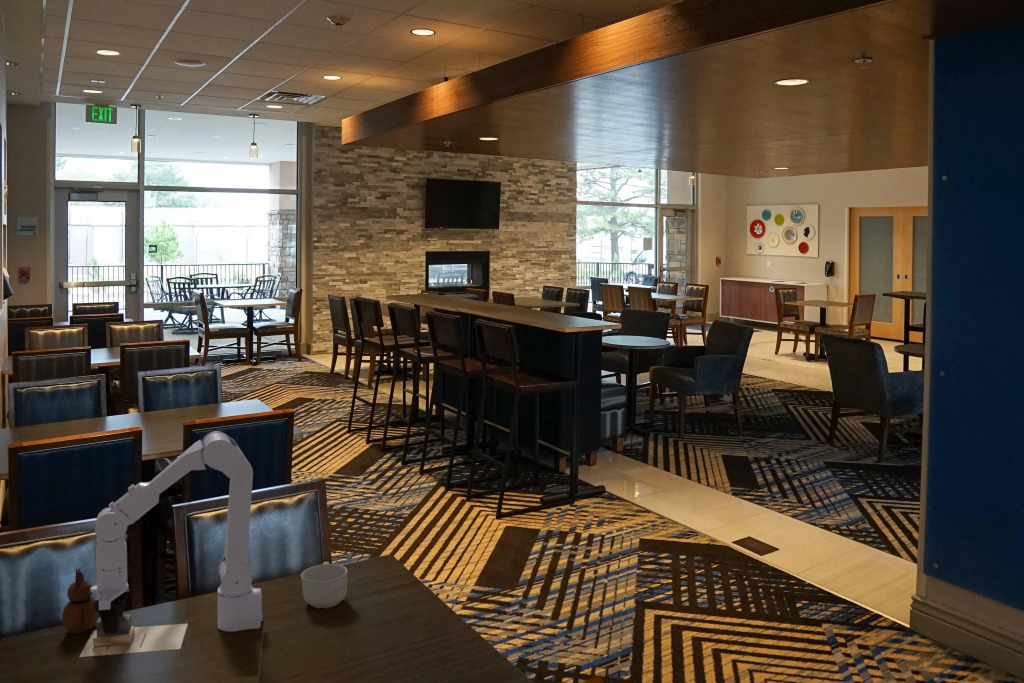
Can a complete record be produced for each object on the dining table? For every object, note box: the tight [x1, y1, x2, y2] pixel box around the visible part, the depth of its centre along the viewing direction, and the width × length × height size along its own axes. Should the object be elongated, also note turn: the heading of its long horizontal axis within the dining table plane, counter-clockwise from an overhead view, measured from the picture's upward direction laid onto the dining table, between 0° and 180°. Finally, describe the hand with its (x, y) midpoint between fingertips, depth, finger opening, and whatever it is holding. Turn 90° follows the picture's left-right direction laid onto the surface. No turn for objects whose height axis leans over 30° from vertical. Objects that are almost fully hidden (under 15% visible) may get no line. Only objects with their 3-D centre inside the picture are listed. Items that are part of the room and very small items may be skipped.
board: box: [78, 623, 189, 658], centre depth 173 cm, size 19×12×1 cm, turn 104°
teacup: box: [300, 561, 349, 609], centre depth 198 cm, size 14×11×8 cm
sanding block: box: [93, 613, 135, 648], centre depth 171 cm, size 7×4×5 cm, turn 104°
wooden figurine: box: [62, 568, 99, 634], centre depth 176 cm, size 7×6×15 cm
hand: (112, 628), depth 171 cm, fingers closed on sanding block, 3 cm apart
